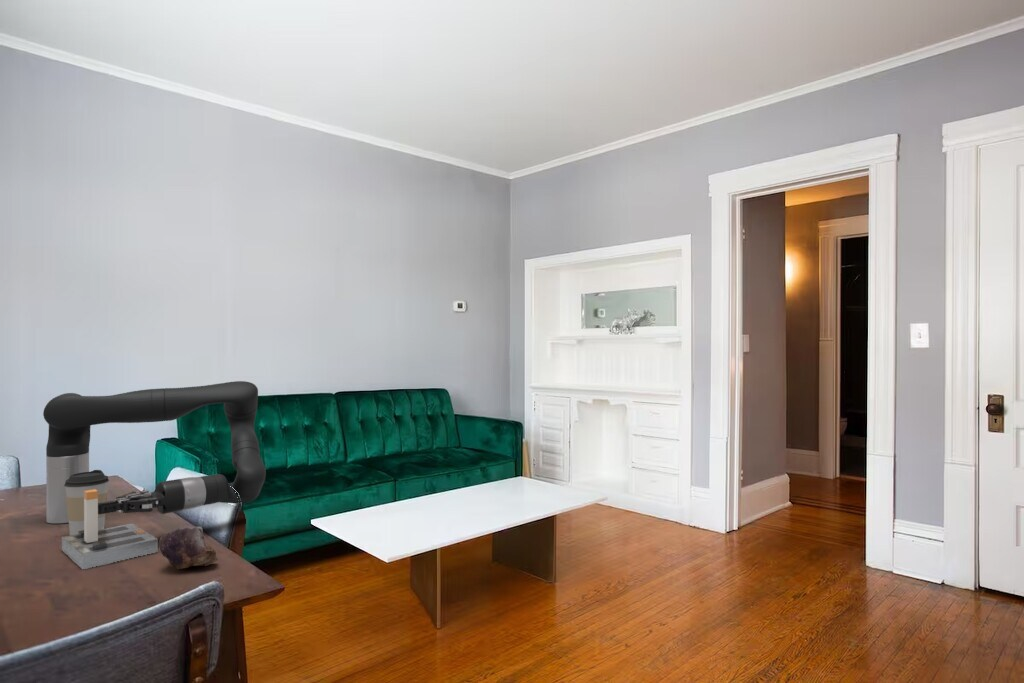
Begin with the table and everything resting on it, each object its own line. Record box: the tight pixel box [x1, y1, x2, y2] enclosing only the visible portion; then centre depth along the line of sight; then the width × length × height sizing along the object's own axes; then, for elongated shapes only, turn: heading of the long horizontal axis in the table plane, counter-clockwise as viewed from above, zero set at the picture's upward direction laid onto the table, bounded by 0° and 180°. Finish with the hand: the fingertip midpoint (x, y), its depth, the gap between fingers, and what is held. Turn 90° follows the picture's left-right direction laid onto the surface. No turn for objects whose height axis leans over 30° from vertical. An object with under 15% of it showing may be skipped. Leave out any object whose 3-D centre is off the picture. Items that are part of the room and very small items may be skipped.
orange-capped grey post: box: [84, 489, 98, 543], centre depth 135 cm, size 2×2×11 cm
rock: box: [158, 525, 219, 570], centre depth 128 cm, size 12×9×10 cm
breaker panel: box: [61, 522, 159, 571], centre depth 138 cm, size 18×14×4 cm
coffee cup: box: [64, 469, 110, 535], centre depth 151 cm, size 9×9×15 cm
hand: (96, 509), depth 136 cm, fingers closed
